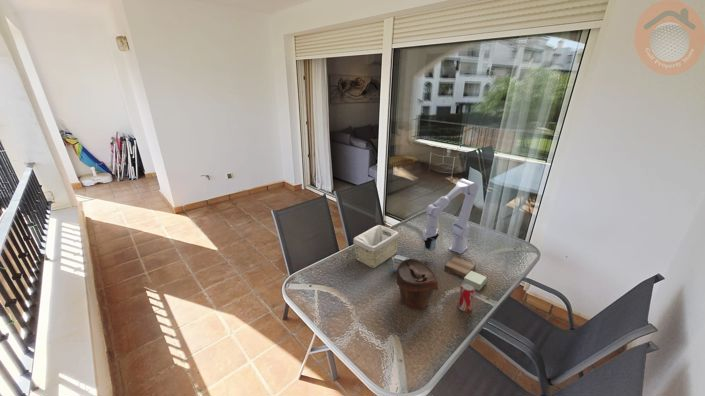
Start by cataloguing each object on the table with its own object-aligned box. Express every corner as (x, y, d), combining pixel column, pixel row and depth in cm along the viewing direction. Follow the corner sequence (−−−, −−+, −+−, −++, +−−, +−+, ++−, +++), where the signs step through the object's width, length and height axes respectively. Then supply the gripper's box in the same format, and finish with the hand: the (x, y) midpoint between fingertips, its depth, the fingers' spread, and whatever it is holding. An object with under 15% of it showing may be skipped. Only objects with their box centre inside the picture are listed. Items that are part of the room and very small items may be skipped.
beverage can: (465, 315, 123) (468, 293, 118) (454, 306, 128) (457, 284, 123) (475, 310, 125) (478, 288, 121) (464, 301, 130) (467, 280, 126)
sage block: (470, 276, 148) (470, 270, 146) (485, 283, 142) (486, 277, 141) (463, 284, 142) (464, 277, 141) (479, 291, 137) (480, 284, 136)
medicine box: (393, 271, 153) (393, 258, 150) (395, 267, 157) (396, 254, 153) (407, 275, 149) (407, 261, 146) (409, 271, 153) (410, 257, 150)
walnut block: (454, 260, 162) (455, 256, 161) (475, 268, 154) (475, 264, 153) (444, 269, 154) (444, 265, 153) (465, 279, 146) (466, 274, 145)
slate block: (428, 245, 166) (429, 236, 163) (435, 248, 163) (436, 239, 160) (424, 248, 163) (424, 239, 160) (431, 251, 160) (432, 242, 157)
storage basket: (373, 270, 154) (373, 247, 149) (352, 259, 165) (351, 237, 160) (399, 253, 170) (400, 231, 165) (378, 244, 181) (378, 223, 175)
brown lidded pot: (430, 321, 120) (433, 286, 113) (387, 304, 130) (388, 271, 124) (441, 297, 134) (445, 265, 128) (402, 283, 144) (404, 253, 138)
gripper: (432, 219, 165) (430, 239, 169) (418, 227, 155) (417, 248, 160) (443, 222, 160) (441, 243, 165) (429, 231, 150) (428, 253, 155)
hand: (429, 246), depth 162 cm, fingers closed on slate block, 4 cm apart
